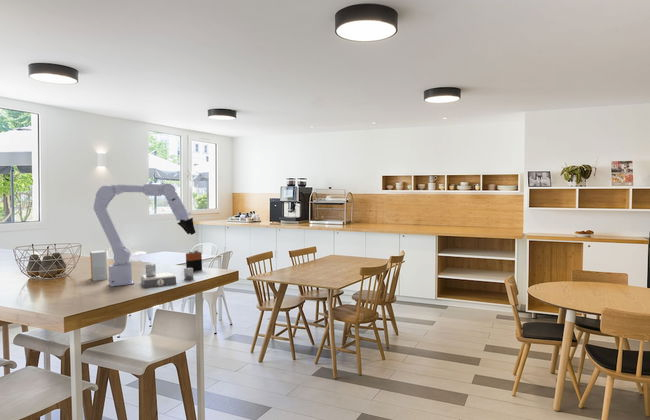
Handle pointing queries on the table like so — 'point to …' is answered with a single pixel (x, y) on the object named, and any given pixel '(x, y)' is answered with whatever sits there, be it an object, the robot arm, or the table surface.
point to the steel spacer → (188, 273)
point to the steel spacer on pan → (150, 270)
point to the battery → (194, 260)
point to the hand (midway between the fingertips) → (191, 233)
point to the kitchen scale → (158, 280)
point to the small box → (98, 265)
